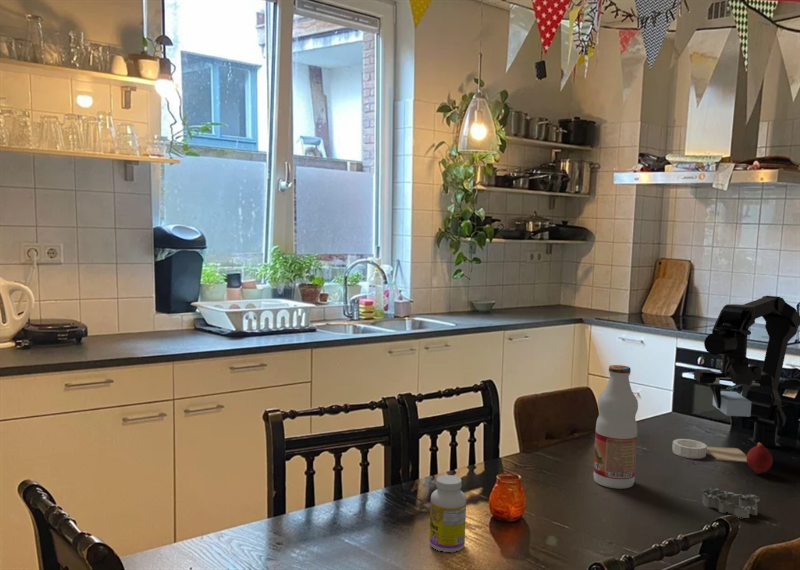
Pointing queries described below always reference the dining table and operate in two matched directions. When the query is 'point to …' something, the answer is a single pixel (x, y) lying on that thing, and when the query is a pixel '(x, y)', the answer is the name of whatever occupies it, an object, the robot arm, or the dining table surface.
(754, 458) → the onion
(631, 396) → the fruit juice
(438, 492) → the supplement bottle
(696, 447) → the bowl
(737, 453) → the mat
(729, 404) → the light blue block
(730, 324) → the robot arm
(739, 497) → the egg carton
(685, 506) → the dining table surface
